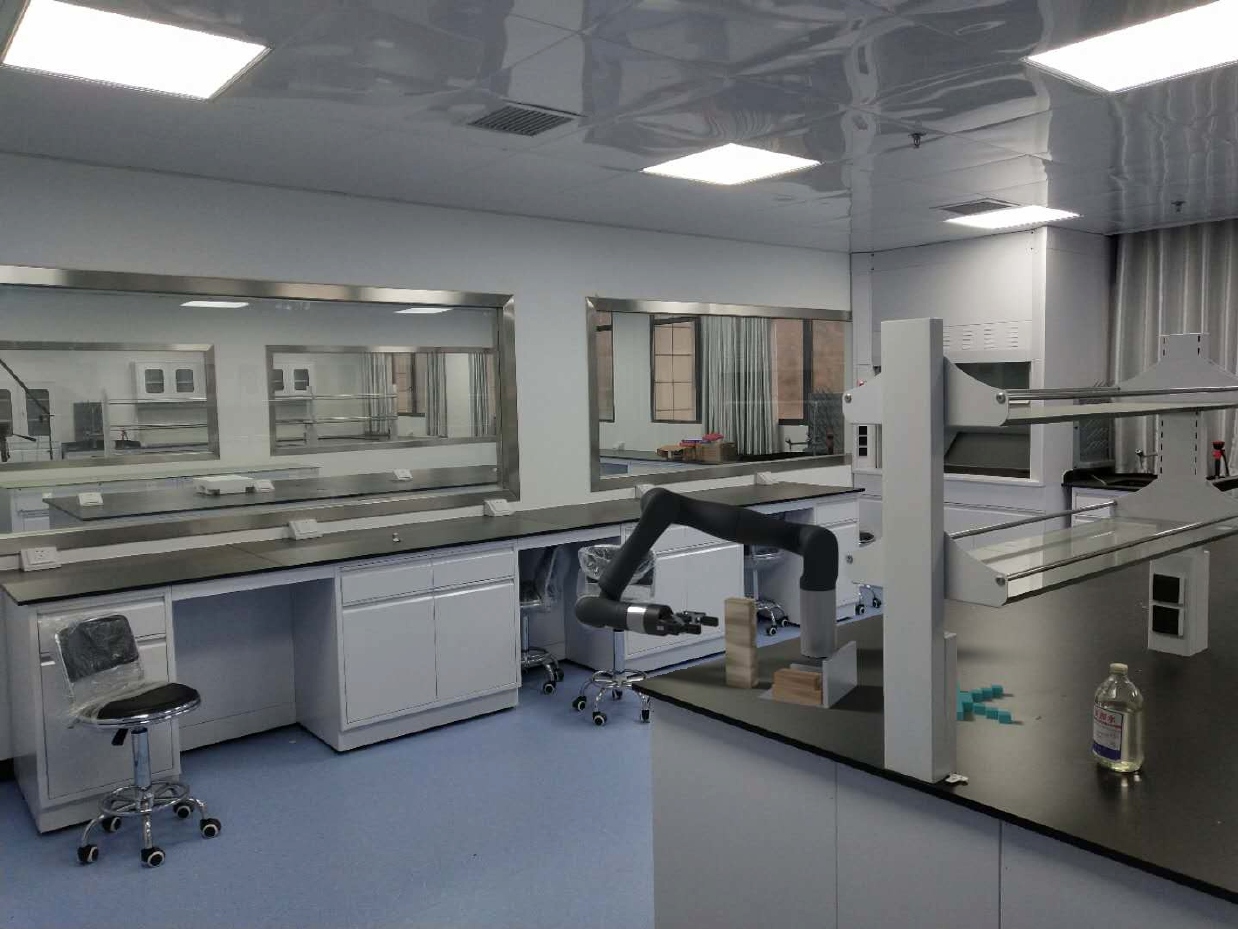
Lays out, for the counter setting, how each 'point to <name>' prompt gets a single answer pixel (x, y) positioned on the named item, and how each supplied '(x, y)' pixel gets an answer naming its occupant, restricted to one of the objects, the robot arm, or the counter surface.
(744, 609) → the plywood board
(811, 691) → the block
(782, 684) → the upper offcut
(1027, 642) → the counter surface
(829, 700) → the board rack
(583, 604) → the robot arm
